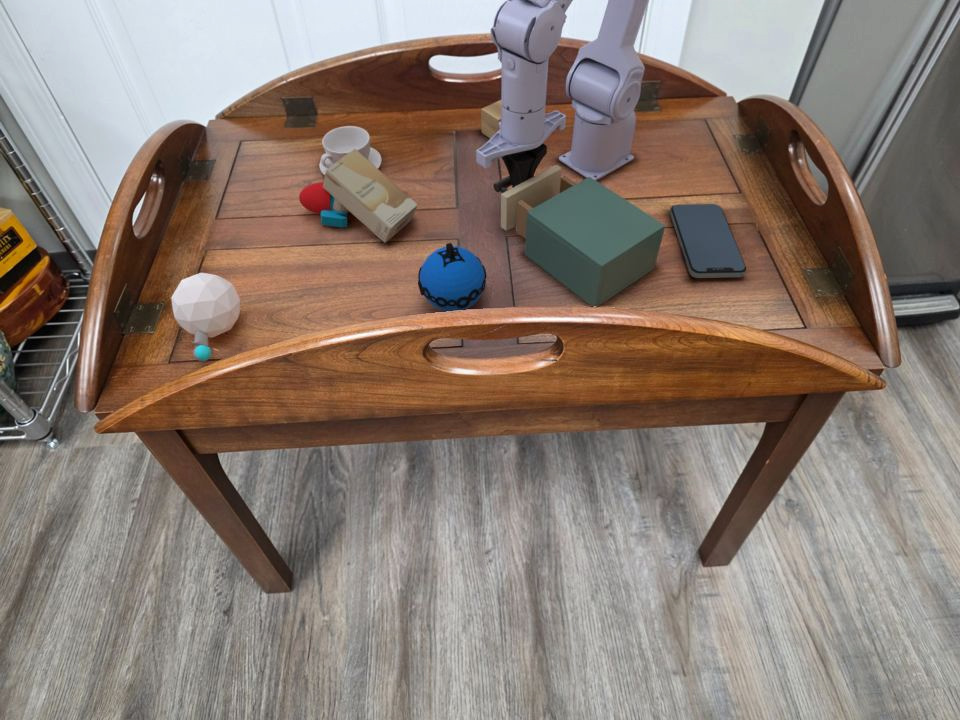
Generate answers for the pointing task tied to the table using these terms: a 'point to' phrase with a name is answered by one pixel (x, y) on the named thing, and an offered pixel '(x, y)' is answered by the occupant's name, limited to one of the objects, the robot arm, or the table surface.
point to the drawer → (529, 196)
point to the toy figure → (324, 205)
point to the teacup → (347, 146)
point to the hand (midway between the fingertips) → (520, 189)
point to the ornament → (452, 278)
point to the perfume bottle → (205, 309)
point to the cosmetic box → (369, 195)
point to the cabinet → (592, 240)
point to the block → (491, 119)
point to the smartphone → (707, 241)
